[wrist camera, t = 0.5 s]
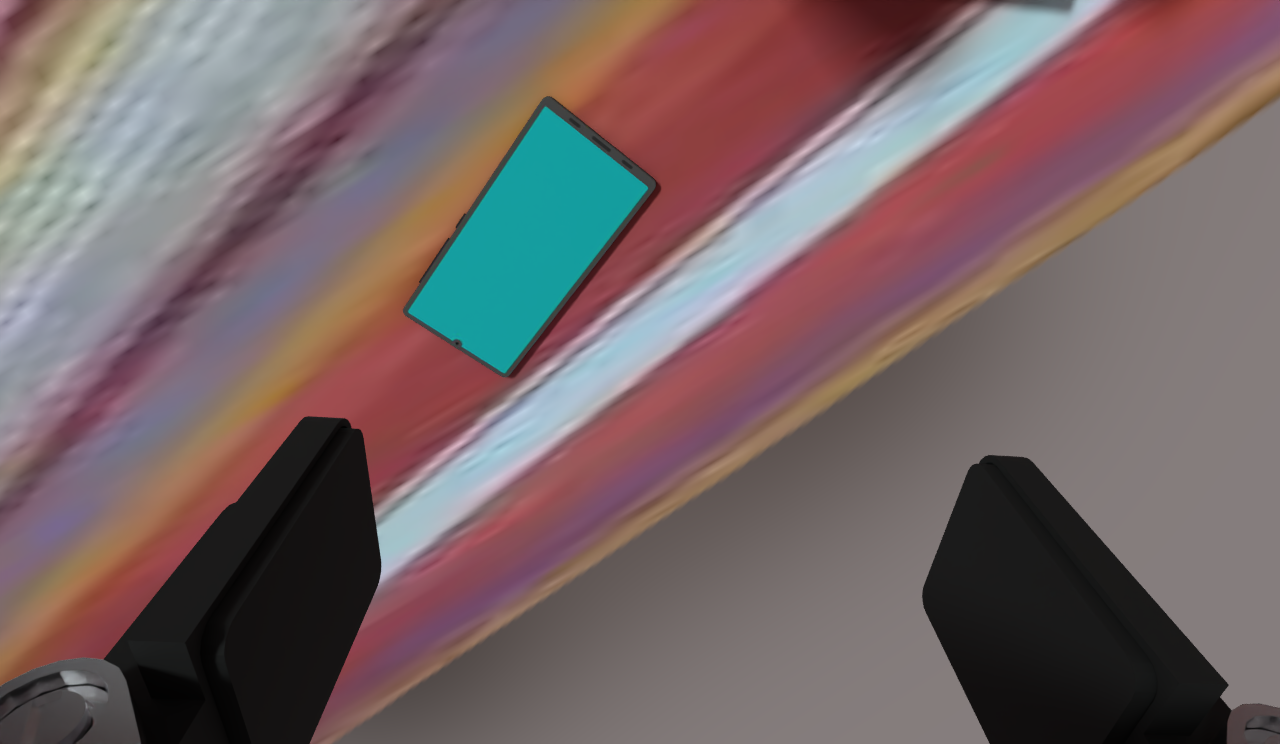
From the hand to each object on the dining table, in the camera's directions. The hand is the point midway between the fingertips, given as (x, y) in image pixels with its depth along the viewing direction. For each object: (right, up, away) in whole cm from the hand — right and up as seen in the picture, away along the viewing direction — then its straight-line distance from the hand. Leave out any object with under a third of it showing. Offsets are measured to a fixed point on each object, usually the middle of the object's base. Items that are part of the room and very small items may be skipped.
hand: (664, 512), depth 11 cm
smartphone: (-7, +9, +28) cm, 30 cm away
